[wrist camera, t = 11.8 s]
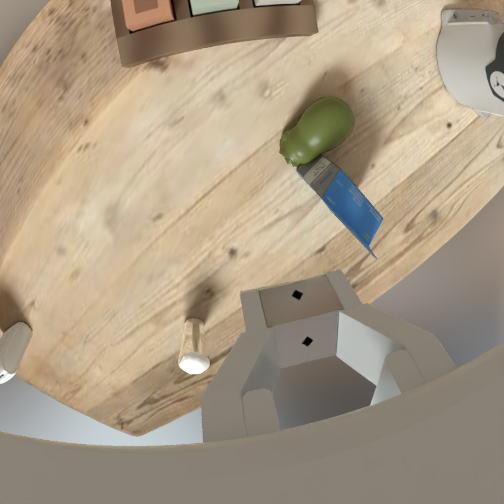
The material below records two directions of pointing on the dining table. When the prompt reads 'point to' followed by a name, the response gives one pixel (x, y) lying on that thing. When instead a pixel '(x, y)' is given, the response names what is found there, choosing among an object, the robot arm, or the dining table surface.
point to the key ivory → (275, 2)
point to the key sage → (212, 6)
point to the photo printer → (13, 349)
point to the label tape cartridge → (342, 198)
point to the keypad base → (211, 28)
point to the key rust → (147, 13)
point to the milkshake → (193, 347)
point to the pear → (317, 131)
